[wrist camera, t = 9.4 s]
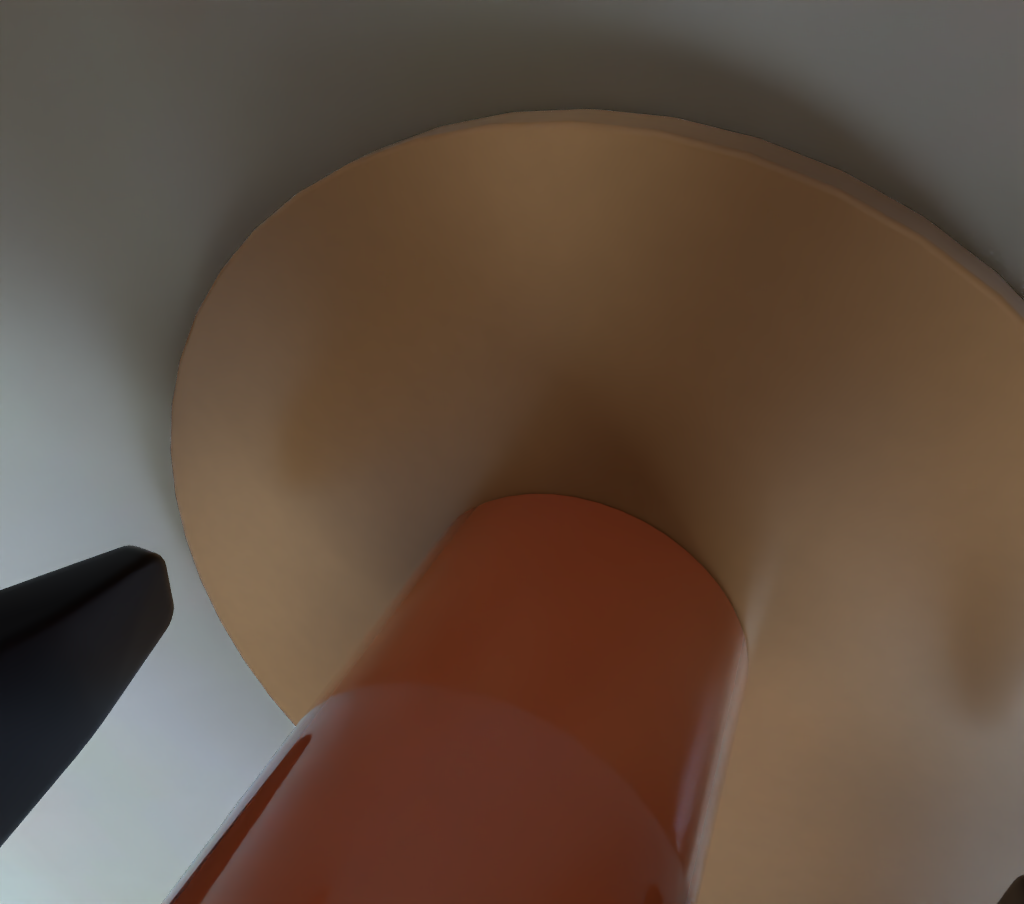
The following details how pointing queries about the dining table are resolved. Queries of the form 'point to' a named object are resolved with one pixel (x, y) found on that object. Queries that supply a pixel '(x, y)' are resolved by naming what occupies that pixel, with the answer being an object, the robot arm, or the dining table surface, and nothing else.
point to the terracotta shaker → (506, 730)
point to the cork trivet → (651, 454)
